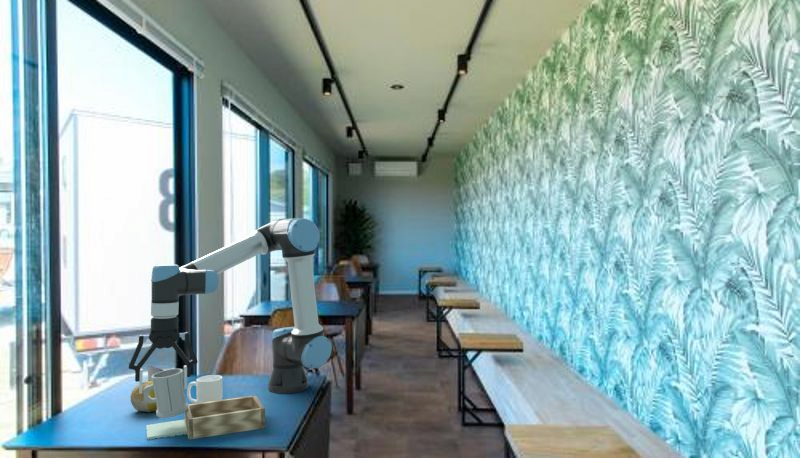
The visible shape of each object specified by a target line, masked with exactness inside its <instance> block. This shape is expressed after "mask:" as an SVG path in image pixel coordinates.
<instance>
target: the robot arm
mask: <svg viewBox="0 0 800 458" xmlns="http://www.w3.org/2000/svg"><path fill="white" fill-rule="evenodd" d="M320 234H321V233H320V230H319V228H318V226H317V225H316V224H315V223H314V221H312V220H311V219H308V218H303V217H292V218H279V219H276V220H273V221H270V222H269V223H266V224H265V225H263V226H259V228H257V229H254V230H253V231H252V232H251V234H250V235H248V236H246V237H243V238H241V239H239V240H237V241H234V242H232V243H230V244H229V245H228V244H227V245H226V246H224V247H222V248H219V249H217V250H215V251H213V252H211V253H208V254H207V255H204V256H202V257H199V258H198V259H196V260H194V261H191V262H189V263H187V264H185V265H182V266H180V265H178V264H175V263H174V264H170V263H169V264H167V263H166V264H163V263H161V264H155V265H154V266H153V267H152V269H151V270H152V271H151V280H150V281H151V302H150V316H151V318H150V332H149V334H142V333H141V334H139V335H138V343H137V346H135V347H136V348H135V350H134V352H133V354H132V357H131V359H130V361H129V364H128V369H129V370H133V371H134V373H135V374H134V377H135V378H134V379H135V380H134V381H135V382H136V383H137V382H138V383H139V384H138V385H139V394H141V393H142V383H143V375H144V374H143V366H144V365H145V364H146V363H147V360H148V359H149V358H150V356H151V355H152V354H153V353H154V352H155V350H156V349H158V350H159V349H160V350H161V349H170V348H173V349H174V350H175V352H176V353H177V355H178V356H179V357H180V359H181V360H182V361H183V362H184V364H185V365H183V378H184V390H187V388H188V378H190V377H191V376H192V366H193V365H197V364H198V360H197V356H196V354H195V351H194V348H193V346H192V344H191V342H190V334H189V332H188V331H185V332H179V317H178V315H179V304H180V303H179V301H180V300H179V298H180V296H190V295H191V296H193V295H208V294H214V293H216V292H217V290H218V287H219V274H221V273H223V272H225V271H228V270H230V269H233V267H236V266H238V265H240V264H242V263H244V262H246V261H247V260H250V259H252V258H254V257H256V256H258V255H262V256H263V255H266V254H268V253H272V252H276V251H281V255H282V259H284V260H285V261H286V262H287V267H288V269H287V270H288V278H289V286H290V295H291V296H290V297H291V306H292V315H293V324H294V326H289V327H287V326H285V327H281V328H276V329H274V330H273V331H272V335H271V342H272V344H271V345H272V347H271V348H272V351H271V352H272V370H271V373H270V376H269V379H268V383H267V389H268V391H269V392H271V393H274V394H294V393H299V392H303V391H305V390H308V388H309V385H310V384H309V379H308V375H307V373H306V369H305V368H307V369H310V368H311V369H318V368H321V367H323V366H324V365H325V364H326V363H327V361H328V360H329V359H330V357H331V354H332V348H333V347H332V342H331V341H330V340H329V339H328V337H326V336H325V332H324V326H322V325H321V324H320V323H319V315H318V307H317V297H316V288H315V286H316V285H315V279H314V270H313V268H314V267H313V260H312V259H313V258H314V256H315V255H316V248H317V247H318V244H319V243H320V238H321V235H320ZM180 338H181V340H182V341H184V342H185V345H186V347H187V350H188V352H189V355H190V358H191V360H190V359H189V358H188V357H187V355H186V354H185V353H184V351H183V350H182V349H181V348H180V346H179V345H178V343H176V342H177V341H178V340H179V339H180ZM147 340H149V341H150V342H151V345H149V348H148V349H147V350H146V351H145V353H144V355H143V356H142V357H141V359H140V360H139V361H138V363H137V364H135V363H136V362H137V360H138V357H139V355H140V352H141V350H142V348H143V345H144V343H146V342H147Z"/></svg>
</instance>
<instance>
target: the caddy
mask: <svg viewBox="0 0 800 458" xmlns="http://www.w3.org/2000/svg"><path fill="white" fill-rule="evenodd" d="M187 404H188V409H187V410H186V411H185V412H184V419H185V424H186V429H187V434H186V435H187V439H188V440H195V439H200V438H201V439H202V438H207V437H214V436H221V435H228V434H229V435H230V434H234V433H241V432H247V431H253V430H260V429H265V428H266V408H265V407H264V405H263V404H262V403H261V401H260V399H259V398H258V397H257V396H256V395H254V394H253V395H247V396H240V397H234V398H227V399H226V398H225V399H223V400H217V401H210V402H203V403H187Z"/></svg>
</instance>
